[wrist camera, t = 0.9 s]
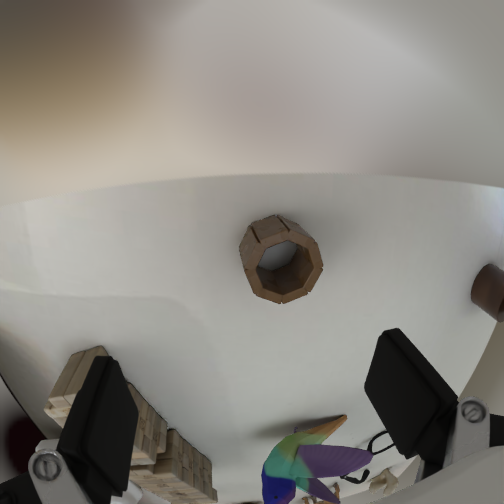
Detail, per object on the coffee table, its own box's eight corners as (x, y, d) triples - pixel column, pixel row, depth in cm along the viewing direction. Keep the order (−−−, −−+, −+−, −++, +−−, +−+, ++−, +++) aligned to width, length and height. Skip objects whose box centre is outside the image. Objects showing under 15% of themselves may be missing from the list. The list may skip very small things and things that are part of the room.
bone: (377, 486, 52) (379, 508, 43) (363, 479, 54) (364, 501, 44) (400, 469, 51) (405, 491, 42) (386, 461, 53) (391, 484, 43)
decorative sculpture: (214, 401, 31) (223, 512, 17) (358, 378, 33) (408, 466, 19) (228, 461, 37) (237, 538, 23) (337, 442, 39) (364, 511, 25)
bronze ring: (258, 206, 23) (268, 219, 19) (314, 231, 25) (334, 249, 21) (230, 264, 25) (234, 288, 21) (286, 285, 26) (299, 311, 22)
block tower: (60, 353, 27) (175, 470, 37) (33, 399, 19) (173, 509, 29) (106, 339, 27) (215, 465, 37) (80, 392, 19) (218, 506, 29)
